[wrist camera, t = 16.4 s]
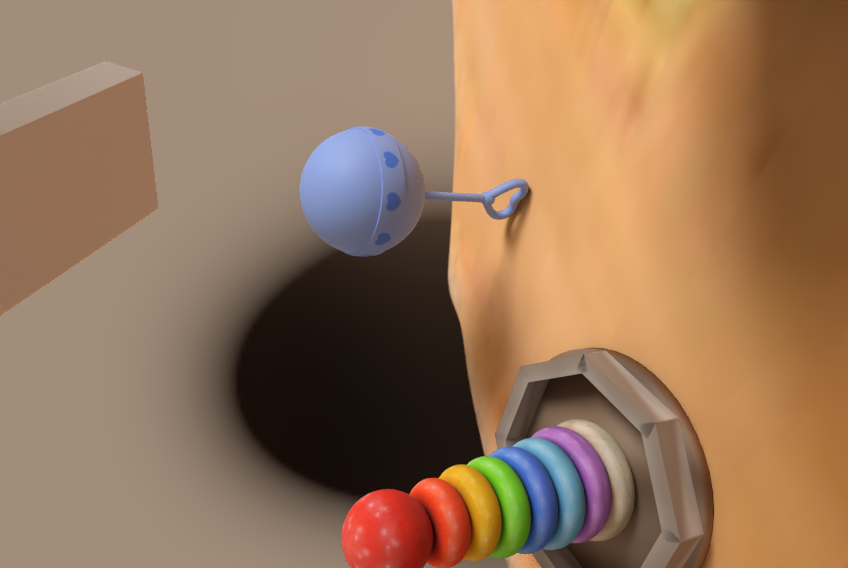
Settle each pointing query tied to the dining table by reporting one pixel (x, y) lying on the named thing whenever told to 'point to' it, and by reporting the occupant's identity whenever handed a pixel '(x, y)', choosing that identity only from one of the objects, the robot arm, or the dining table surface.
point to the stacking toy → (499, 504)
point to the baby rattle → (374, 192)
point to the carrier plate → (644, 450)
